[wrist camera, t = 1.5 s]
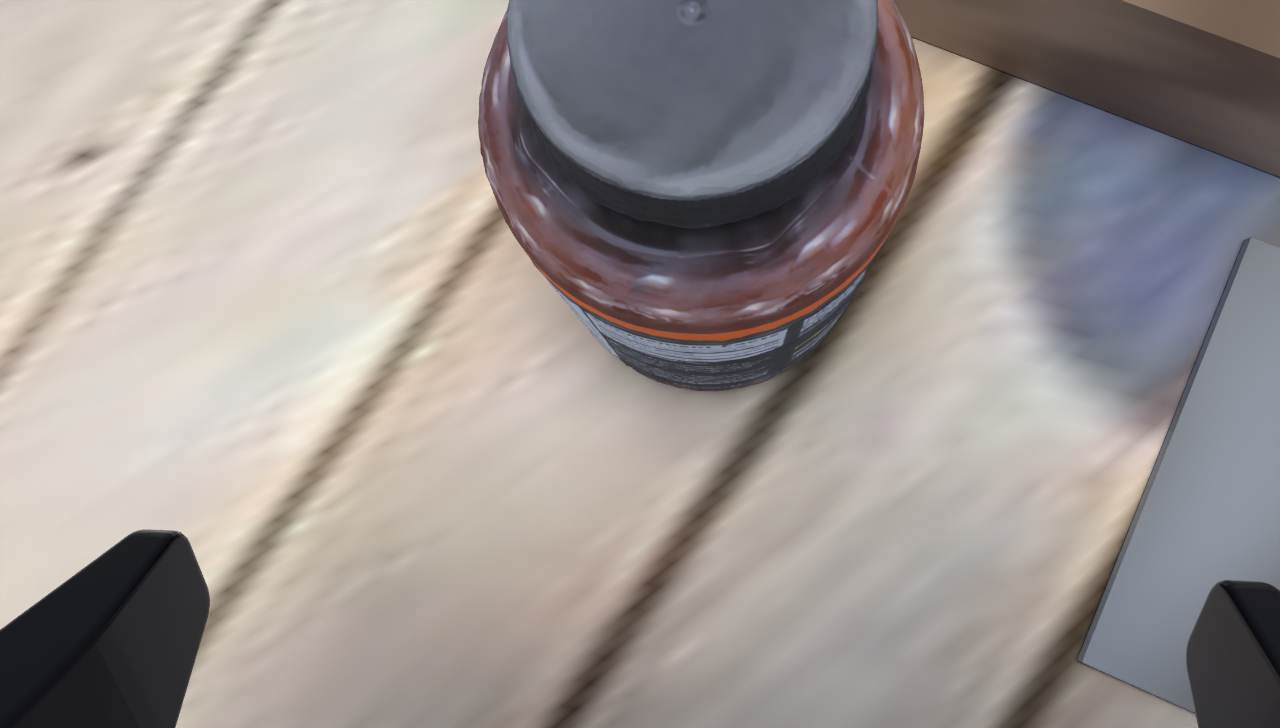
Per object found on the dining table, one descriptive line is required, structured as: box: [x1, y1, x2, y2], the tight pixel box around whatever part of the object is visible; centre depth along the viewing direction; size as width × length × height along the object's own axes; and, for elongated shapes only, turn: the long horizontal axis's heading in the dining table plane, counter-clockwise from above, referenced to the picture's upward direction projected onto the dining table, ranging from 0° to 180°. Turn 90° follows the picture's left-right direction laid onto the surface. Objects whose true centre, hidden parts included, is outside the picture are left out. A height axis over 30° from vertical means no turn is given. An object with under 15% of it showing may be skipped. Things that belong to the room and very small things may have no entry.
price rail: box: [894, 0, 1280, 713], centre depth 20 cm, size 26×13×4 cm, turn 66°
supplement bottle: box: [478, 0, 924, 391], centre depth 17 cm, size 6×6×11 cm
